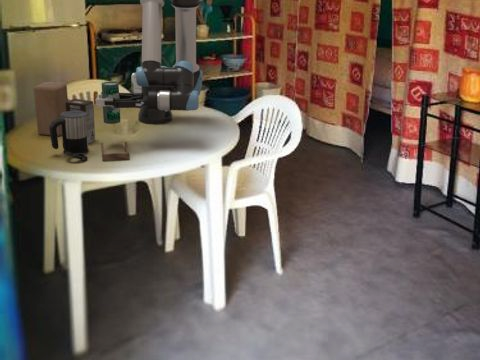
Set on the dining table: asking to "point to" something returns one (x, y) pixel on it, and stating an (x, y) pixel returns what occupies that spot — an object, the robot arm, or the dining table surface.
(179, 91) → the robot arm
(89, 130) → the coffee box
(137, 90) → the syrup box
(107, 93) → the can
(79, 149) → the milk frother
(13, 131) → the dining table surface
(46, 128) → the block
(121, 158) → the brown flat u-shaped piece
